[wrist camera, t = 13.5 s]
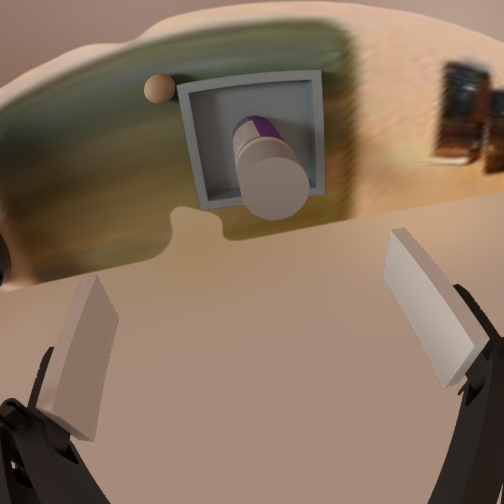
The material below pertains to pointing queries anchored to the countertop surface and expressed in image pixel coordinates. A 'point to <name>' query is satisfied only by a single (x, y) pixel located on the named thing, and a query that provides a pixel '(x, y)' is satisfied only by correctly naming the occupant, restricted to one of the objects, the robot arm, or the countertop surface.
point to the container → (268, 170)
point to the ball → (159, 88)
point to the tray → (240, 106)
